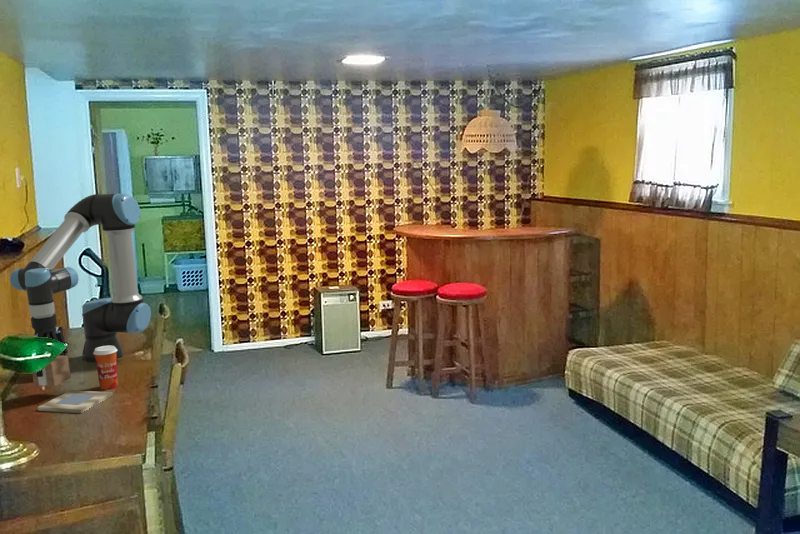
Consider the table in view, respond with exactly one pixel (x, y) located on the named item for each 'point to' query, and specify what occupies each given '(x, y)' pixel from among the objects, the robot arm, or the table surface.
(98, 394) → the blueprint plate
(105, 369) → the paper cup
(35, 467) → the table surface
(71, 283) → the robot arm
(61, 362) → the walnut block
